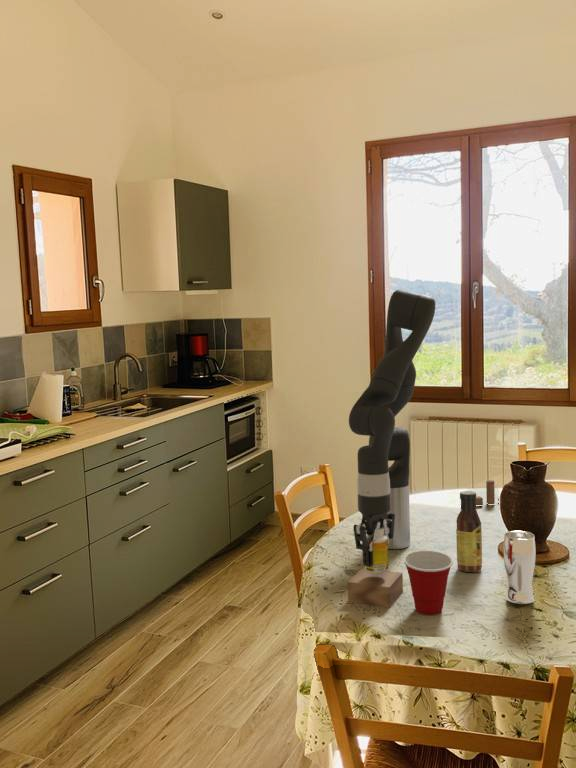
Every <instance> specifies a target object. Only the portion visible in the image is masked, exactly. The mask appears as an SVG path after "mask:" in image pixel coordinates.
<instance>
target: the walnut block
mask: <svg viewBox="0 0 576 768" xmlns="http://www.w3.org/2000/svg"><path fill="white" fill-rule="evenodd" d="M403 577H404V576H403V572H398V571H391V570H387V571H386V572H384V573H380V574H372V573H368V572H367V571H365V569H364V567H362V568H361V569H360V570H358V572H357V573H356V574H355V575H353V577H351V579H349V580H348V581H347V596H348V597H347V600H348V603H355V604H360V605H361V604H362V605H368V606H376V607H380V608H381V607H383V608H388V609H389V608H391V607H393V605H394V603H396V601H397V600H398V599H399V597H400V596H401V595H402V594H403V593H404V584H403V582H404V579H403Z"/></svg>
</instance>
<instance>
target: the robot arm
mask: <svg viewBox="0 0 576 768" xmlns="http://www.w3.org/2000/svg"><path fill="white" fill-rule="evenodd" d="M435 313H436V300H435V298H433V297H432V296H430V295H427V294H424V293H423V294H422V293H419V292H414V291H409V290H405V289H396V290H395V291H394V292H393V293H391V296H390V299H389V302H388V307H387V315H386V316H387V317H386V326H385V327H386V328H385V341H384V351H383V357H382V358H381V359H380V360H379V362H378V364H376V367H375V370H374V371H373V374H372V377H371V380H370V381H369V385H368V386H367V388H366V389H365V390H364V391H363V392H362V394H361V395H360V397H359V398H358V399H357V400H356V402H355V403H354V405H353V406H352V408H351V410H350V413H349V416H348V426H349V428H350V430H351V432H352V433H354V434H355V435H359V436H368V444H367V445H363V446H361V447H360V448H359V449H358V451H357V484H356V485H357V486H356V487H357V509H358V512H359V513H360V514H361V515H362V516H361V521H360V523H359V524H353V526H352V527H353V533H354V534H353V536H354V540H355V549H356V550H361V551H362V563H363V566H364V565H365V566H368V567H371V566H373V551H372V549H373V542H374V541H376V538H377V533H378V529H379V528H381V527H383V528H384V535H386V536H387V540H388V550H400V549H405V548H408V547H410V545H411V518H410V517H411V515H410V514H411V513H410V456H411V441H410V435H409V432H408V430H407V429H406V428H405V427H404V426H396V419H395V418H396V416H397V415H398V414H399V413H400V412H401V411H402V410H403V409H404V408H405V406H406V405H407V404H408V403H409V402H410V400H411V399H412V397H413V394H414V390H415V385H416V379H417V371H416V367H415V364H414V361H413V360H414V357H416V354H417V352H418V351H419V349H420V347H421V345H422V343H423V341H424V340H425V338H426V336H427V334H428V332H429V330H430V328H431V325H432V324H433V323H432V322H433V320H434V317H435ZM402 329H403V330H408V331H411V333H410V334H409V335H408V336H407V337H406V339H404V340H403V338H404V337H403V332H402ZM391 461H393V463H392V464H391V465H390V466H389V462H391ZM367 534H368V535H372V537H368V536H366V535H367ZM367 540H369V545H368V544H367Z"/></svg>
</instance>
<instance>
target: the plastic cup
mask: <svg viewBox="0 0 576 768" xmlns="http://www.w3.org/2000/svg"><path fill="white" fill-rule="evenodd" d="M403 563H404V565H405V566H406V570H407V574H408V577H409V583H410V589H411V594H412V598H413V602H414V607H415V611H416V612H417V613H418V614H421V615H426V616H434V615H438V614H441V612H442V611H443V607H444V603H445V597H446V591H447V584H448V578H449V574H450V571H451V567H452V565H454V560H453V558H452V557H451V556H450V555H448V554H446V553H444V552H441V551H437V550H436V551H435V550H425V549H424V550H417V551H411V552H409V553H407V554H406V555H404V556H403Z"/></svg>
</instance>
